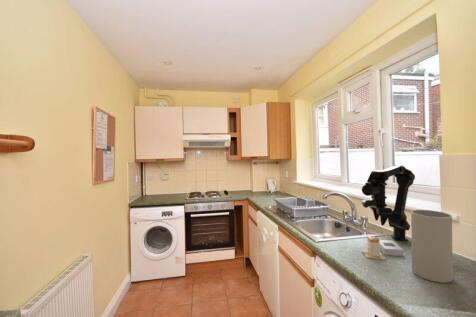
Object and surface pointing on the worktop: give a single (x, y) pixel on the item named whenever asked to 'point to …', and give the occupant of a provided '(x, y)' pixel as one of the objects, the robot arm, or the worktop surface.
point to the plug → (373, 246)
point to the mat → (373, 256)
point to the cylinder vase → (432, 245)
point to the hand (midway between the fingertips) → (379, 222)
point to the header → (390, 248)
